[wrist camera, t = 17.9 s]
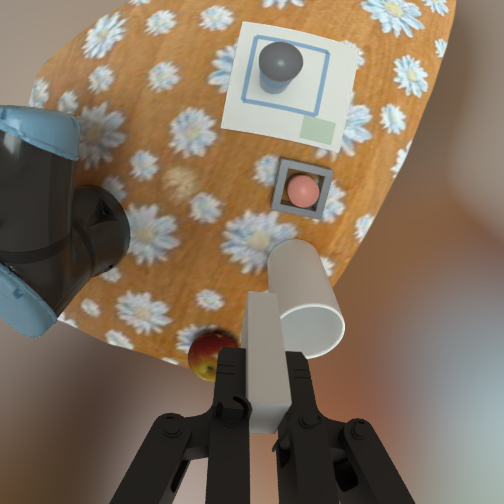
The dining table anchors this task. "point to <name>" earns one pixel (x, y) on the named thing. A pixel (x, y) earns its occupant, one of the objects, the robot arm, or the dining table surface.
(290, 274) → the cup
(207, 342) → the fruit
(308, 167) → the button housing
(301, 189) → the button
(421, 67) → the dining table surface
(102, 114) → the dining table surface
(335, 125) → the board
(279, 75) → the marker
